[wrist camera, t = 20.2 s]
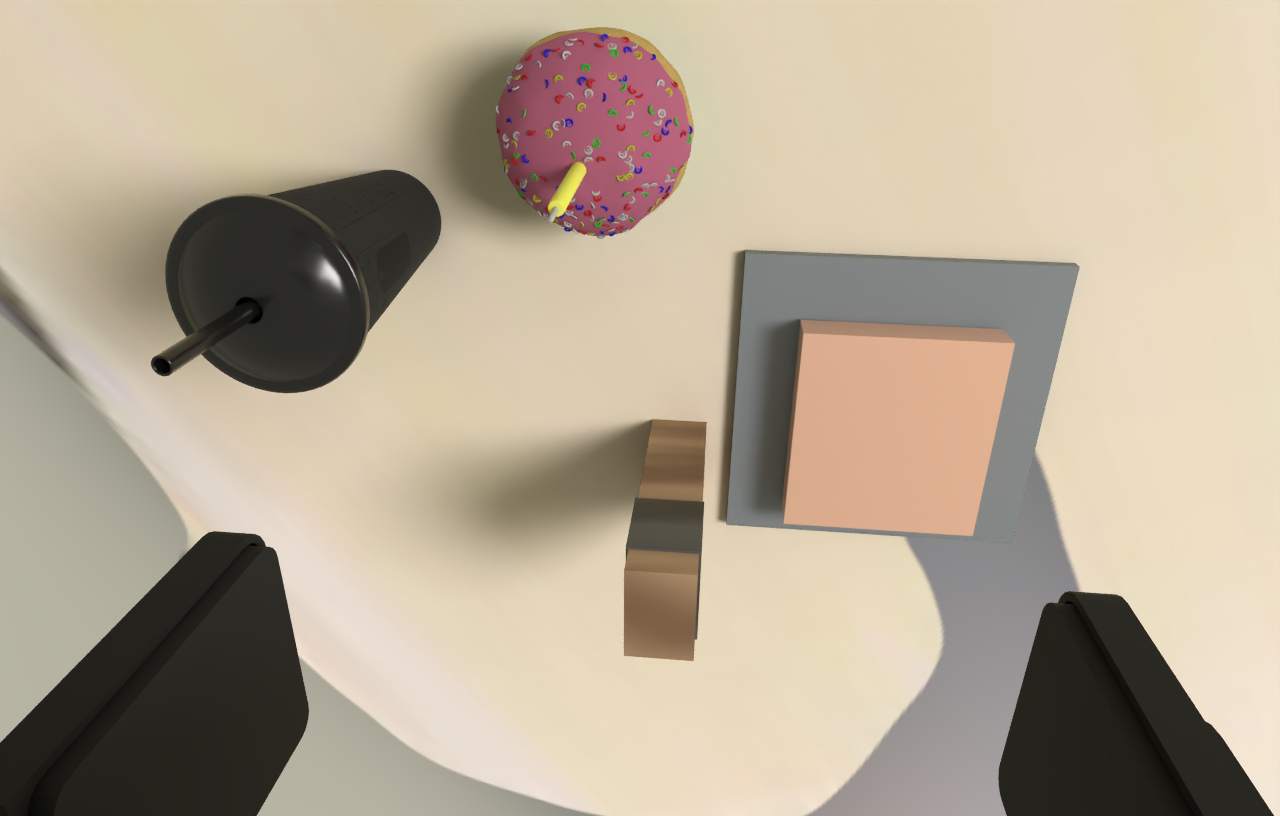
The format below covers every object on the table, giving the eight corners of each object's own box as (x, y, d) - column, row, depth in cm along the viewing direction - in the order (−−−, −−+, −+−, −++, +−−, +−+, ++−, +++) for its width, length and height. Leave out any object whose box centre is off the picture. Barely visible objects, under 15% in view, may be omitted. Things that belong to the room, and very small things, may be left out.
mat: (745, 250, 43) (745, 253, 42) (1075, 263, 41) (1079, 266, 41) (726, 518, 50) (726, 524, 49) (1008, 537, 48) (1011, 543, 48)
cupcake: (670, 229, 43) (649, 306, 32) (506, 186, 43) (430, 248, 32) (717, 49, 39) (711, 68, 28) (537, 1, 39) (462, 1, 28)
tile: (803, 333, 41) (783, 523, 46) (1015, 343, 41) (972, 536, 45) (800, 318, 43) (781, 502, 48) (1001, 327, 43) (962, 513, 47)
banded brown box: (650, 417, 47) (621, 568, 35) (708, 420, 47) (700, 573, 34) (649, 490, 49) (621, 657, 37) (704, 493, 49) (695, 662, 37)
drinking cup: (379, 106, 41) (110, 185, 23) (498, 216, 43) (332, 369, 25) (294, 216, 44) (-3, 363, 26) (409, 316, 46) (204, 517, 28)
